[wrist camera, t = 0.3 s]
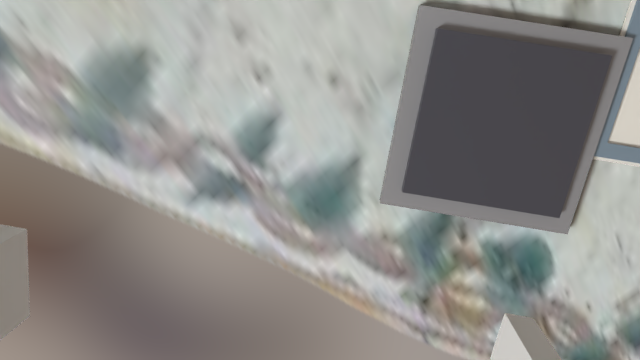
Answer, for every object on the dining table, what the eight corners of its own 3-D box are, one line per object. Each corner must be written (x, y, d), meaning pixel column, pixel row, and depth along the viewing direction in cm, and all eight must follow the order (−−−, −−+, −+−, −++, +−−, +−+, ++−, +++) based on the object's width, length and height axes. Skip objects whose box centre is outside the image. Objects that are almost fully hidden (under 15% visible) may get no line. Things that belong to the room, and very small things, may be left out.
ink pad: (418, 6, 35) (422, 3, 33) (625, 38, 34) (639, 37, 33) (379, 199, 39) (381, 206, 37) (562, 229, 39) (572, 238, 37)
